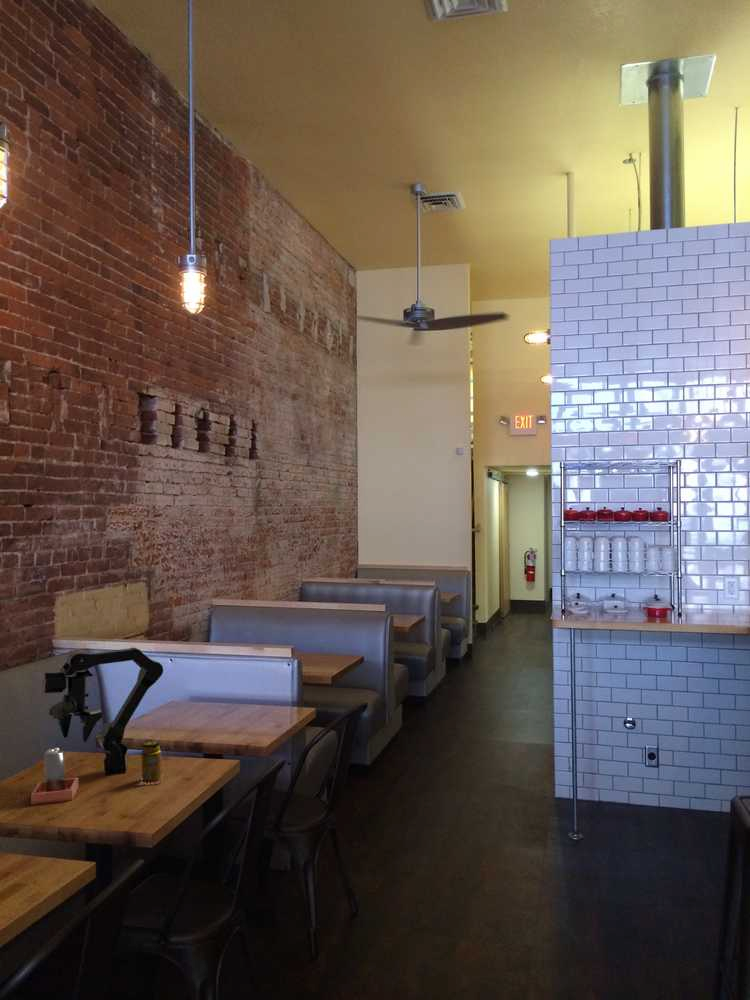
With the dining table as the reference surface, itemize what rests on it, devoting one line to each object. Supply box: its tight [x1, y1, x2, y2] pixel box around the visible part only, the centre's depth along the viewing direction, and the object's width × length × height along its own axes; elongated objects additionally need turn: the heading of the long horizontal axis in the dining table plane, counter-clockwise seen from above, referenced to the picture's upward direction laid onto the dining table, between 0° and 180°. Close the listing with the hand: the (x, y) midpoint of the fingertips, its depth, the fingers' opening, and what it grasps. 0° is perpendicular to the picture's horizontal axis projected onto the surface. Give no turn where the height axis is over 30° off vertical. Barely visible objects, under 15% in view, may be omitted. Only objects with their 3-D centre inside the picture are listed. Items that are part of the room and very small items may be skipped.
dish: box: [30, 777, 80, 806], centre depth 240 cm, size 12×12×3 cm
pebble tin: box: [43, 746, 66, 792], centre depth 241 cm, size 6×6×14 cm
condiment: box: [136, 740, 163, 786], centre depth 250 cm, size 7×8×12 cm
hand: (75, 739), depth 255 cm, fingers open, 9 cm apart
